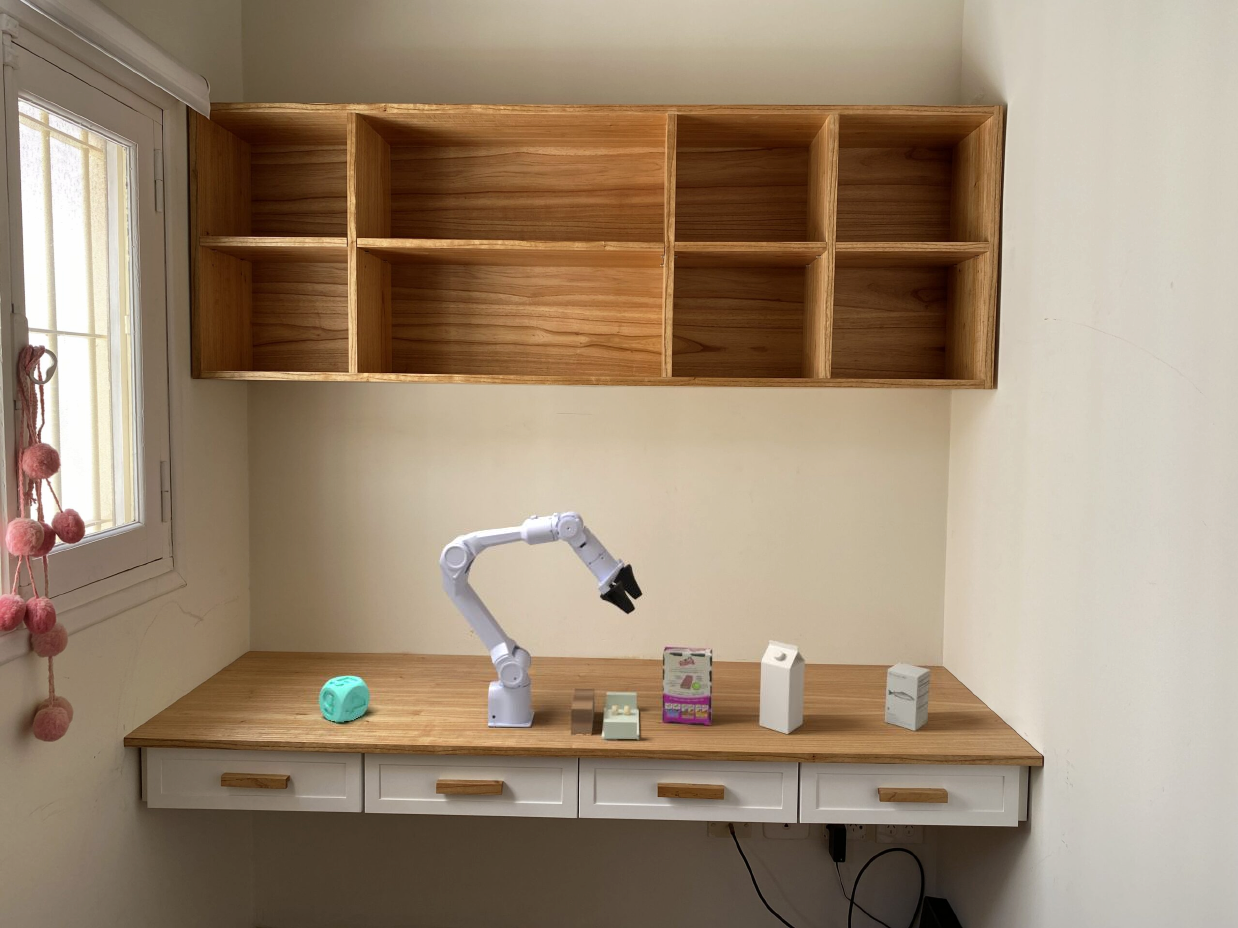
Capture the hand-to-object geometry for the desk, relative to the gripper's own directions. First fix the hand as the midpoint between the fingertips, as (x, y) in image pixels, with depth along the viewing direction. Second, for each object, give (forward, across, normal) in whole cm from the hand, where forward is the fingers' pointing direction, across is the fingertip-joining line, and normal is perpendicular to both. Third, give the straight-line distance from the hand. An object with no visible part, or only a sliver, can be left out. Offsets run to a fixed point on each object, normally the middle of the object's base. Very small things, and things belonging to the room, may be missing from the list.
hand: (635, 604), depth 182 cm
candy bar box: (+29, 0, +9) cm, 30 cm away
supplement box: (+61, +12, -27) cm, 68 cm away
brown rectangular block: (+14, -8, +25) cm, 30 cm away
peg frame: (+19, -6, +19) cm, 28 cm away
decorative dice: (-22, -18, +66) cm, 71 cm away
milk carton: (+42, +3, -7) cm, 43 cm away
